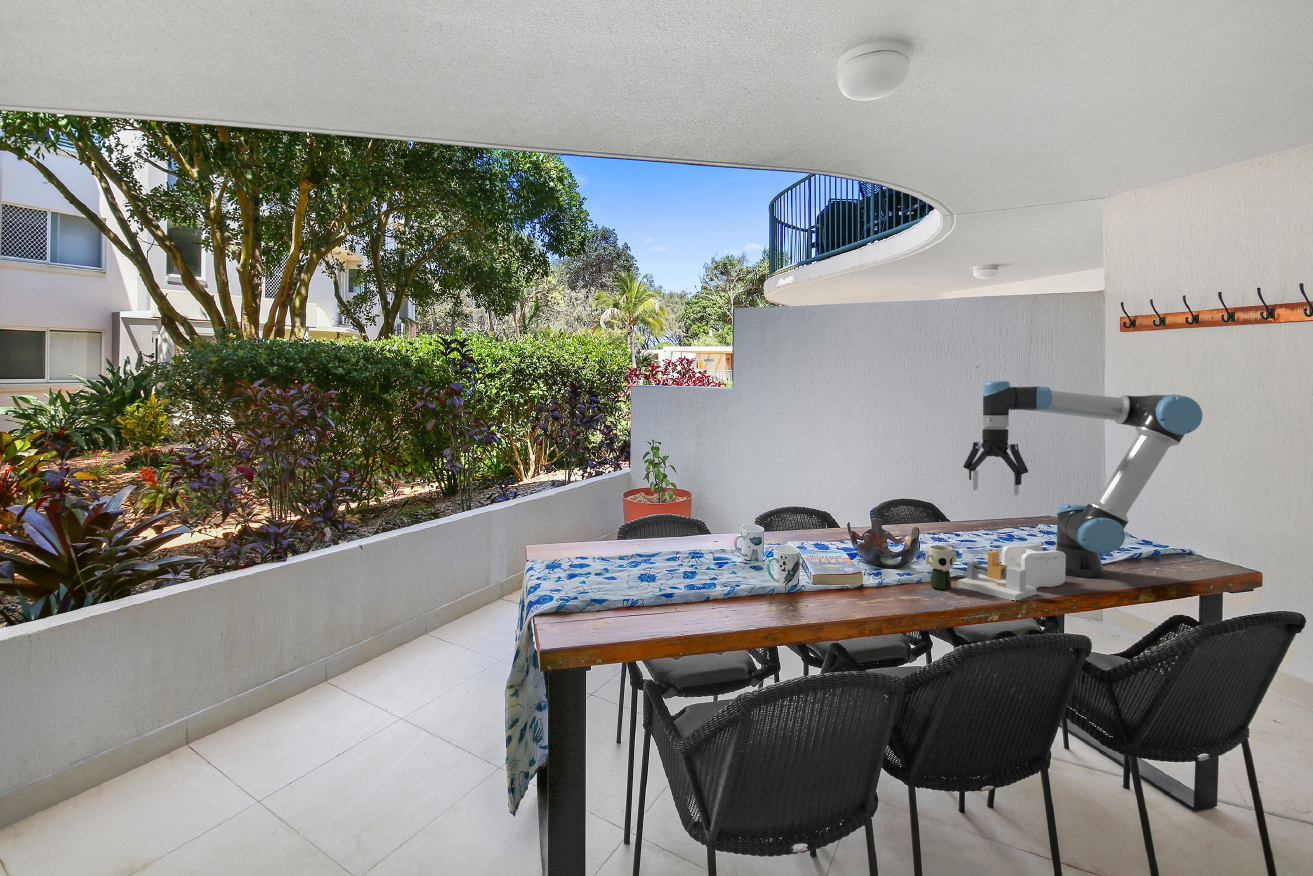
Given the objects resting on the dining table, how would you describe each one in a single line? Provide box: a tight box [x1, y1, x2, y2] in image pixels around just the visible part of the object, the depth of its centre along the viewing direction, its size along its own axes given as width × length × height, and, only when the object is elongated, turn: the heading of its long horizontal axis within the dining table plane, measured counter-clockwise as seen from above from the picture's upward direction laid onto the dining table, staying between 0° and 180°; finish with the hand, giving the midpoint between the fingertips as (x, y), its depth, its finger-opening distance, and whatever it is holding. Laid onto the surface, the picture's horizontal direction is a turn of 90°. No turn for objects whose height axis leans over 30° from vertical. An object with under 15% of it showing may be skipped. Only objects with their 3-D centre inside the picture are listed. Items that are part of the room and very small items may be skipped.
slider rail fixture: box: [957, 560, 1037, 602], centre depth 194 cm, size 12×18×8 cm, turn 32°
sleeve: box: [986, 550, 1007, 580], centre depth 194 cm, size 4×4×8 cm
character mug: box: [925, 544, 957, 590], centre depth 197 cm, size 11×7×13 cm, turn 103°
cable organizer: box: [1001, 543, 1066, 589], centre depth 200 cm, size 15×11×12 cm
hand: (994, 492), depth 206 cm, fingers open, 13 cm apart
